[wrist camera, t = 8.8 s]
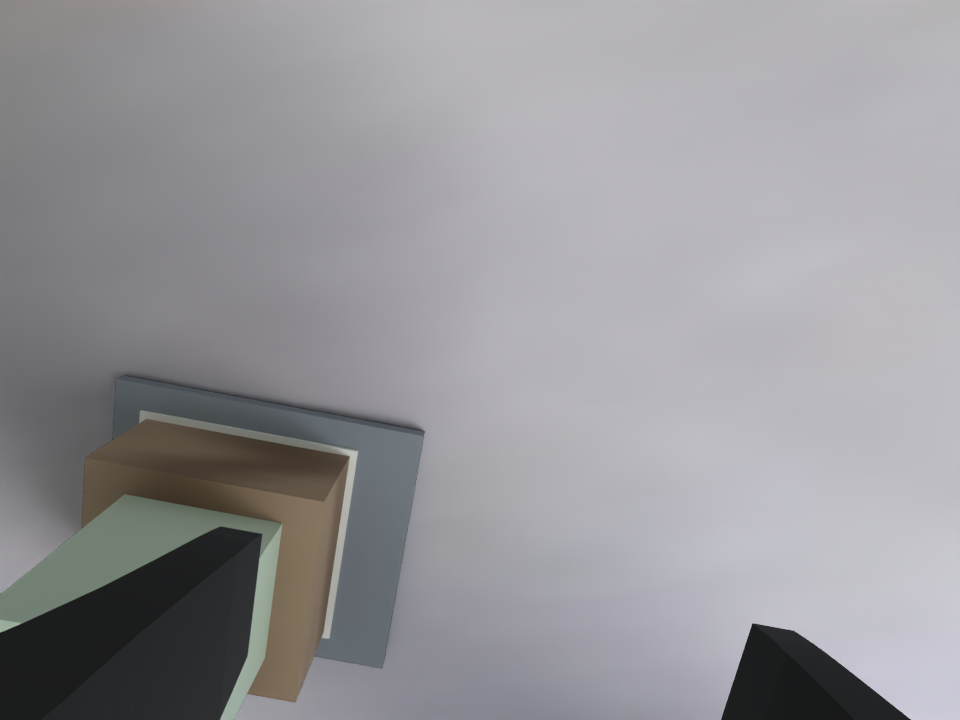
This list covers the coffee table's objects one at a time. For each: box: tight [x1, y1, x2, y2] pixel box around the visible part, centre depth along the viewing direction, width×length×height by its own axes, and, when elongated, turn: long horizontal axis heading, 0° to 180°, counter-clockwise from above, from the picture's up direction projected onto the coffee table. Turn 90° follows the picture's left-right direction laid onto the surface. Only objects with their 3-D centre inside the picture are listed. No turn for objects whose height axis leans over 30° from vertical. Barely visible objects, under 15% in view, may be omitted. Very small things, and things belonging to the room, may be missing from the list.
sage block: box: [0, 494, 282, 720], centre depth 15 cm, size 4×4×5 cm
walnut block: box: [82, 419, 350, 702], centre depth 19 cm, size 6×6×3 cm
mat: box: [112, 375, 425, 668], centre depth 21 cm, size 9×8×1 cm
